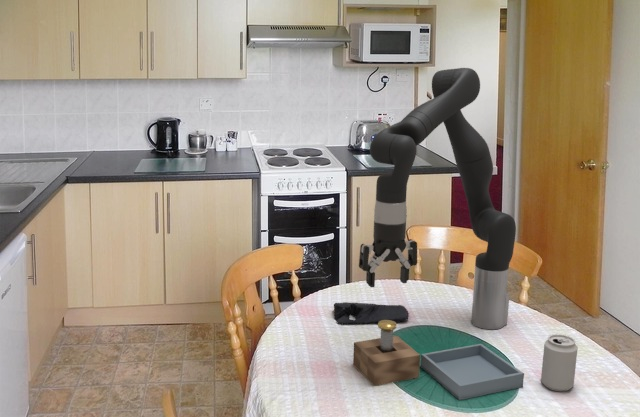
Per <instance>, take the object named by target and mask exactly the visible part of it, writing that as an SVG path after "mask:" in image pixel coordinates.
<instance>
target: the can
mask: <svg viewBox="0 0 640 417" xmlns="http://www.w3.org/2000/svg"><path fill="white" fill-rule="evenodd" d="M576 342H577V341H576V340H575V339H574V338H573V337H572V336H570V335H566V334H560V333H559V334H558V333H556V334H551V335H549V336H548V337H547V340H545V341H544V343H543V344H544V346H543V353H542V355H543V356H542V366H541V373H540V374H541V377H540V381H541V383H542V384H543V385H544V386H545V387H546V388H547V389H549V390H551V391H554V392H555V391H556V392H567V391H569V390H570V389H572V388H573V387H574V386H575V385H574V384H575V376H576V375H575V374H576V368H577V366H576V364H577V360H578V359H577V358H578V348H579V347H578V345H577V344H576Z"/></svg>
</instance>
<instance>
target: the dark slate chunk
mask: <svg viewBox="0 0 640 417" xmlns="http://www.w3.org/2000/svg"><path fill="white" fill-rule="evenodd" d="M409 314H410V313H409V311H408V309H407V307H406V306H404V305H402V304H398V305H397V304H396V305H395V304H389V305H388V304H376V303H367V302H366V303H365V302H364V303H363V302H348V301H347V302H335V303H334V304H333V317H334V320H335V322H336V321H337V322H336V323H337V325H342V324H343V326H344V324H345V325H369V324H378V322H379V321H381V320H391V321H394V322H396V323H400V322H406V321H408V319H409ZM350 317H354V319H351V318H350Z"/></svg>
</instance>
